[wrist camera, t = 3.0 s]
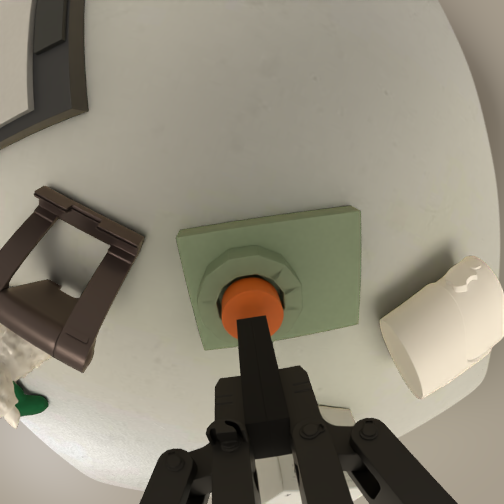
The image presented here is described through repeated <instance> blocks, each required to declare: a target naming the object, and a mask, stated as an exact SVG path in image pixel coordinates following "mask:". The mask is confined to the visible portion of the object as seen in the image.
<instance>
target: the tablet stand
mask: <svg viewBox="0 0 504 504" xmlns="http://www.w3.org/2000/svg"><path fill="white" fill-rule="evenodd" d="M34 196H35V197H37V198H39V206H38V207H37V208H36V209H35V210H34V212H33V214H32V215H31V216H30V217H29V218H28V219H27V220H26V221H25V222H24V223H23V224H22V225H21V227H20V228H19V229H18V230H17V231H16V232H15V233H14V234H13V236H12V237H11V238H10V239H9V240H8V241H7V243H6V244H5V245H4V246H3V248H2V249H1V250H0V323H1V324H2V325H4V326H5V327H7V328H8V329H10V330H11V331H12V332H14V333H15V334H17V335H18V336H20V337H21V338H23V339H24V340H26V341H28V342H29V343H31V344H32V345H34V346H35V347H37V348H39V349H40V350H42V351H44V352H45V353H47V354H49V355H50V356H52V357H54V358H56V359H57V360H59V361H61V362H63V363H65V364H67V365H68V366H70V367H72V368H74V369H76V370H78V371H80V372H82V373H84V371H85V370H86V368H87V366H88V365H89V364H90V363H91V360H92V358H93V355H94V347H95V342H96V337H97V334H98V332H99V329H100V327H101V325H102V323H103V321H104V319H105V317H106V315H107V313H108V311H109V309H110V307H111V305H112V303H113V301H114V299H115V297H116V295H117V293H118V291H119V289H120V287H121V285H122V283H123V281H124V279H125V278H126V276H127V274H128V272H129V270H130V268H131V266H132V265H133V263H134V261H135V259H136V257H137V256H138V254H139V251H140V249H141V247H142V245H143V242H144V239H145V237H144V236H142V235H140V234H138V233H136V232H134V231H132V230H130V229H128V228H126V227H124V226H122V225H120V224H118V223H116V222H114V221H112V220H110V219H108V218H106V217H104V216H102V215H100V214H98V213H97V212H95V211H93V210H91V209H89V208H87V207H85V206H83V205H81V204H79V203H77V202H75V201H73V200H71V199H70V198H68V197H66V196H64V195H62V194H60V193H58V192H56V191H54V190H52V189H51V188H49V187H47V186H43V187H41V188H39V189H37V190H36V191H35V193H34ZM58 219H61V220H63V221H65V222H67V223H69V224H70V225H72V226H74V227H76V228H78V229H80V230H82V231H84V232H85V233H87V234H89V235H91V236H93V237H95V238H97V239H99V240H101V241H103V242H105V243H107V244H108V245H110V248H109V249H108V252H107V254H106V255H105V257H104V259H103V260H102V262H101V263H100V265H99V267H98V268H97V270H96V271H95V273H94V275H93V276H92V278H91V280H90V281H89V283H88V285H87V286H86V288H85V290H84V291H83V293H82V295H81V297H80V298H73V297H71V296H69V295H68V294H66V293H64V292H62V291H61V290H60V289H61V286H60V285H59V284H57V283H55V282H53V281H51V280H49V279H47V280H42V281H37V282H33V283H29V284H24V285H20V286H16V287H12V288H9V282H10V280H11V278H12V277H13V275H14V274H15V272H16V271H17V270H18V268H19V267H20V266H21V264H22V263H23V262H24V260H25V259H26V258H27V256H28V255H29V254H30V252H31V251H32V250H33V249H34V247H35V246H36V245H37V244H38V242H39V241H40V240H41V239H42V237H43V236H44V235H45V234H46V233H47V231H48V230H49V229H50V228H51V227H52V226H53V224H54V223H55V222H56V221H57V220H58Z"/></svg>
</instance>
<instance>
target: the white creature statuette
mask: <svg viewBox="0 0 504 504" xmlns="http://www.w3.org/2000/svg"><path fill="white" fill-rule="evenodd" d="M49 358H51V356H50V355H49V354H47V353H45V352H44V351H42V350H40V349H39V348H37V347H35V346H34V345H32V344H31V343H29V342H28V341H26V340H24V339H23V338H21V337H20V336H18V335H17V334H15V333H14V332H12V331H11V330H10V329H8V328H7V327H5V326H4V325H2V324H1V323H0V418H2V417H3V418H4V419H5V420H6V421H7V422H8V423H9V424H10V425H11V426H12V427H14V428H15V429H17V427H18V423H19V419H20V412H19V410H18V409H17V408H16V407H15V404H17V403H18V400H17V398H16V396H15V393H14V385H13V381H15V382H16V381H17V380H18V379H19V378H25V377H26V375H27V374H28V373H29V372H32V371H33V369H34V368H39V367H40V365H41V364H42V363H43V362H44V361H46V360H49Z"/></svg>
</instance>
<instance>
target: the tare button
mask: <svg viewBox="0 0 504 504" xmlns="http://www.w3.org/2000/svg"><path fill="white" fill-rule="evenodd" d="M264 315H266V318H267V322H268V327H269V331H270V335H271V336H272V335H273V334H274V333H275V332H276V331H277V330H278V329H279V328H280V326H281V324H282V321H283V317H284V312H283V307H282V304H281V301H280V298H279V295H278V292H277V291H276V289H275V288H274V286H273V285H272V284H270V283H269V282H268V281H266V280H263V279H260V278H255V277H248V278H243V279H240V280H238V281H236V282H234V283H232V284H231V285H230V286H229V287H228V288H227V289H226V291H225V293H224V295H223V297H222V323H223V326H224V328H225V330H226V331H227V332H228V333H229V334H230V335H231V336H233V337H234V338H236V339H238V335H237V321H236V320H238V319H244V318H251V317H257V316H264Z"/></svg>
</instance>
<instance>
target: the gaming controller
mask: <svg viewBox="0 0 504 504" xmlns="http://www.w3.org/2000/svg"><path fill="white" fill-rule="evenodd" d="M13 385H14V393H15V396H16V398H17V400H18V403H17V404H15V407H16V408H17V409H18V410H19V412H20V417H21V416H27V415H35V414H38V413H41V412H43V411H44V410H45V409H46V408H47V407H48V402H47V400H46V399H45V398H44V397H42V396H39V395H26V394H24V392H23V390H22V388H21V387H20V386H19V385H17V383H16V382H15V381H13Z"/></svg>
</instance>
